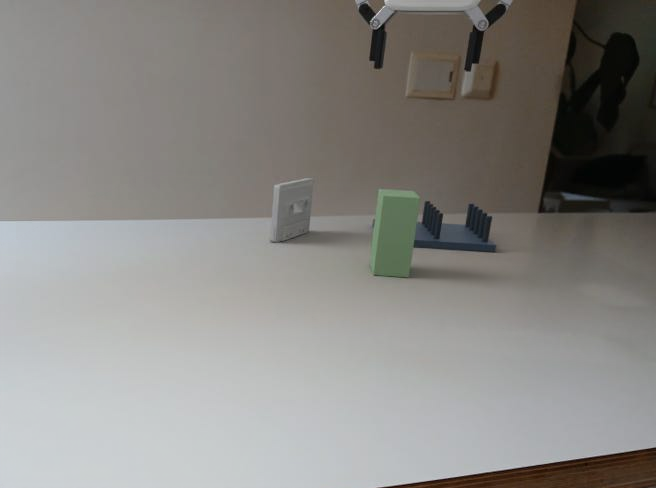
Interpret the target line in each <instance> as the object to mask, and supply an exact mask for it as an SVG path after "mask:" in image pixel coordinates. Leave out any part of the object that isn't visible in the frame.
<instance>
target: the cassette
mask: <svg viewBox="0 0 656 488" xmlns="http://www.w3.org/2000/svg"><path fill="white" fill-rule="evenodd" d="M314 181H315V179H314V178H313V177H306V178H302V179H297V180H292V181H286V182H281V183H277V184H274V186H273V194H272V195H273V197H272V209H271V221H270V222H271V223H270V235H269V237H270V238H269V241H270V242H272V243H279V242H284V241H288V240H290V239H293V238H296V237H298V236H302V235H304V234H307V233H308V232H309V231H310V227H311V226H310V224H311V216H312V215H311V214H312V205H313V204H312V203H313V192H314V183H315V182H314Z"/></svg>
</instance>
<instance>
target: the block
mask: <svg viewBox="0 0 656 488" xmlns="http://www.w3.org/2000/svg"><path fill="white" fill-rule="evenodd" d="M420 204H421V197H420V196H419V195H418V194H417V193H416V192H415V191H414V190H405V189H404V190H402V189H401V190H400V189H386V188H385V189H384V188H378V193H377V201H376V207H375V217H374V219H375V223H374V227H373V232H372V239H371V240H372V241H371V247H370V256H369V266H370V269H371V270H370V271H371V272H372V275H373V276H382V277H393V278H394V277H397V278H409V277H410V272H411V266H412V261H413V251H414V247H413V246H414V239H415V232H416V225H417V222H418V219H419V211H420Z"/></svg>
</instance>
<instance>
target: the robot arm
mask: <svg viewBox="0 0 656 488" xmlns="http://www.w3.org/2000/svg"><path fill="white" fill-rule="evenodd" d="M354 1H355V5H356V8H357V10H358V13H359V14H360V16H361V17H362V18H363V20H364V21H365V22H366V23H367V24H368V26H369V27H370V29H372V31H371V39H370V40H371V41H370V50H369V62H373V69H374V70H381V69H383V68H384V61H385V52H386V43H387V37H388V32H387V31H386V25H387V24H388V23H389V22H390V21H391V20H392V19H393V18H394V17H395V15H397V14H399V15H451V16H452V15H465V16H466V17H467V18H468V20H469V21H470V23H471V24H472V31H470V32H469V37H468V42H467V44H468V45H467V48H466V56H465V61H464V69H463V71H465V73H470V72H471V71H472V68H473V67H472V66H473V65H479V64H480V60H481V53H482V48H483V41H484V36H485V32H486V30H488V29H489V28H490V27H491V26H493V25H494V24H495V23H496V22H497V21H499V20H500V19H501V18H502V17H503V16H504V15H505V14H506V12H507V10H508V9H509V8H510V7H511V5H512V4H513V2H514V0H499V1H498V2H497V4H496V5H495V6H494V7H493V8H492V9H491V10H489V11H488V12H487V13H485V14H484V13H483V11H482V10H481V8H480V7H479V6H480V4H481V2H482V0H383V2H384V5H383V7H381V9H379V11H378V12H377V13H376V12H375V11H374V10H373V9H372V7H371V5H370V3H369V0H354Z"/></svg>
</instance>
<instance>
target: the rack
mask: <svg viewBox="0 0 656 488" xmlns="http://www.w3.org/2000/svg"><path fill="white" fill-rule="evenodd" d="M443 218H444V213H443V212H441V210H440V209H437V206H434V203H431V201H430V200H425V201H424V204H423V211H422V218H421V221H417V225H416V232H415V239H414V246H413V248H424V249H441V250H453V251H454V250H455V251H469V252H487V253H496V249H497V244H496V243H495V242H494V241H492V240H491V239H490V232H491V228H492V221H493V216H492V215H489V214H488V212H485V211H484V210H483V209H481V208H480V207H479V205H478V206H477V205H475V203H474V202H473V203H471V202H469V203H468V205H467V212H466V219H465V224H462V223H461V224H459V223H445V222H443ZM374 223H375V218H373V219H372V228H374Z"/></svg>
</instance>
